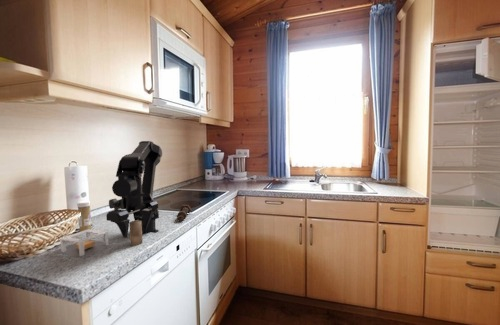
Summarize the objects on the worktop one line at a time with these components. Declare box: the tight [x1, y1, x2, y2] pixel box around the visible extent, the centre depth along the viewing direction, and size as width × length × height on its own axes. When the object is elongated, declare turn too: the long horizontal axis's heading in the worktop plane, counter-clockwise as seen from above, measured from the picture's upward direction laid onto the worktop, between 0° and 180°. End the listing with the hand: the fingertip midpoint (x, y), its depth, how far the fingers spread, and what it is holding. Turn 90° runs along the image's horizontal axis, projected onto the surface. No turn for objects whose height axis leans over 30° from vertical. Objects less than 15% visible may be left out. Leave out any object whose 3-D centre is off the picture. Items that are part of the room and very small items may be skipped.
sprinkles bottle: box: [76, 200, 92, 232], centre depth 106 cm, size 5×5×14 cm
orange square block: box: [76, 239, 96, 250], centre depth 88 cm, size 4×4×2 cm
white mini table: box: [52, 228, 118, 260], centre depth 88 cm, size 12×16×6 cm
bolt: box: [176, 204, 192, 222], centre depth 125 cm, size 6×5×15 cm
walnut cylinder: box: [129, 220, 144, 247], centre depth 91 cm, size 4×4×9 cm
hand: (135, 233), depth 91 cm, fingers open, 9 cm apart
